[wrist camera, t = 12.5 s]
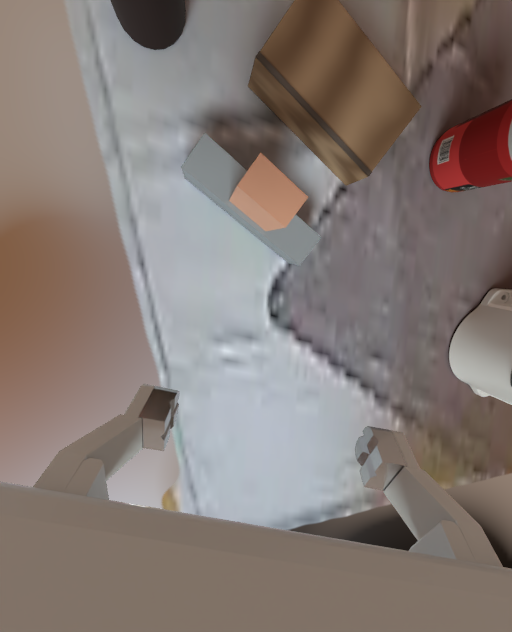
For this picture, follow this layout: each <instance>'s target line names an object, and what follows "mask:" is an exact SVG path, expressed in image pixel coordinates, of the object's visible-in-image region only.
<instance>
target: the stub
mask: <svg viewBox="0 0 512 632" xmlns="http://www.w3.org/2000/svg"><path fill="white" fill-rule="evenodd" d="M181 168H182V171H183V174H184V177H185V179H187V180H188V181H189V182H190V183H191V184H193V185H194V186H195V187H196V188H198V189H199V190H200V191H201V192H202V193H204V194H205V195H206V196H207V197H209V198H210V199H211V200H212V201H213V202H215V203H216V204H217V205H218V206H219V207H221V208H222V209H223V210H224V211H226V212H227V213H228V214H229V215H230V216H232V217H233V218H234V219H235V220H237V221H238V222H239V223H240V224H241V225H243V226H244V227H245V228H246V229H247V230H249V231H250V232H251V233H252V234H254V235H255V236H256V237H257V238H258V239H260V240H261V241H262V242H263V243H265V244H266V245H267V246H268V247H269V248H271V249H272V250H273V251H274V252H275V253H277V254H278V255H279V256H280V257H282V258H283V259H284V260H285V261H286V262H288V263H291V264H295V265H299V266H300V265H301V263H302V262H303V261H304V259H305V258H306V257H307V255H308V254H309V253H310V251H311V250H312V249H313V248H314V246H315V245H316V244H317V242H318V241H319V240H320V238H321V237H320V236H319V235H318V234H317V233H316V232H315V231H314V230H313V229H312V228H310V227H309V226H308V225H307V224H306V223H305V222H304V221H303V220H302V219H300V218H299V217H298V216H297V215H296V213H297V212H298V210H299V209H300V208H301V206H302V205H303V204H304V202H305V201H306V200H307V198H308V196H307V195H305V194H304V193H303V192H302V191H301V190H300V189H299V188H298V187H297V186H296V185H295V184H294V183H293V182H292V181H291V180H290V179H288V178H287V177H286V176H285V175H284V174H283V173H282V172H281V171H280V170H279V169H278V168H277V167H276V166H275V165H274V164H272V163H271V162H270V161H269V160H268V159H267V158H266V157H265V156H264V155H263V154H262V153H260V154H259V155H258V157H257V158H256V160H255V161H254V162H253V164H252V165H251V167H250V168H249V169H248V171H247V170H246V169H245V168H244V167H243V166H241V165H240V164H239V163H238V162H237V161H236V160H235V159H234V158H233V157H231V156H230V155H229V154H228V153H227V152H226V151H225V150H224V149H223V148H221V147H220V146H219V145H218V144H217V143H216V142H215V141H214V140H213V139H211V138H210V137H209V136H208V135H207V134H206V133H204V134H203V136H202V137H201V139H200V140H199V142H198V143H197V145H196V146H195V148H194V149H193V150H192V152H191V153H190V155H189V156H188V158H187V159H186V161H185V162H184V164H183V165H182V167H181Z"/></svg>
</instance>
